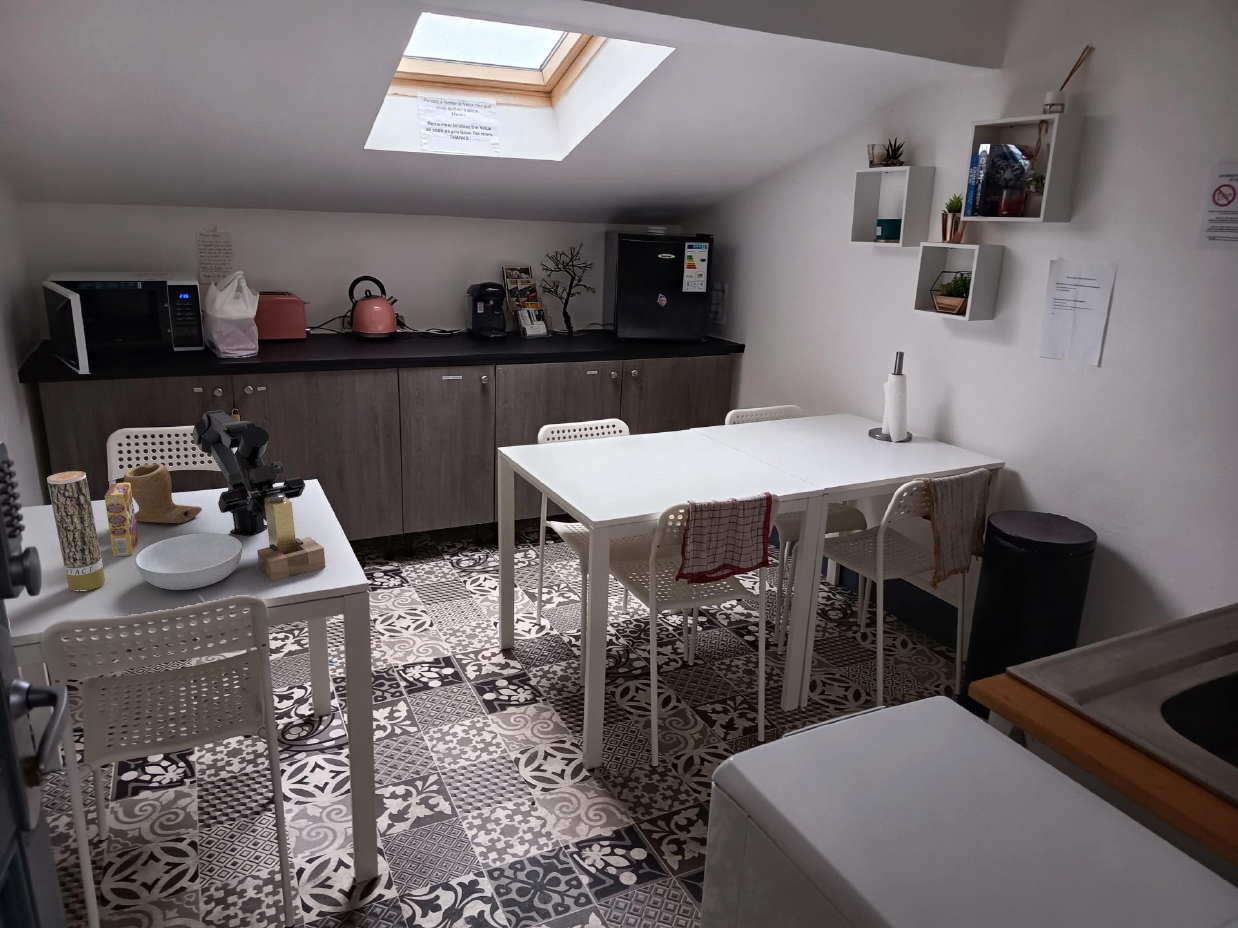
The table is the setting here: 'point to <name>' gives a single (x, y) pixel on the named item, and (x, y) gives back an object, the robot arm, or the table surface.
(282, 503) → the brass post
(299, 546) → the walnut housing
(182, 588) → the serving bowl
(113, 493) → the candy box
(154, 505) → the tan ankle boot
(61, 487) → the paper tube
